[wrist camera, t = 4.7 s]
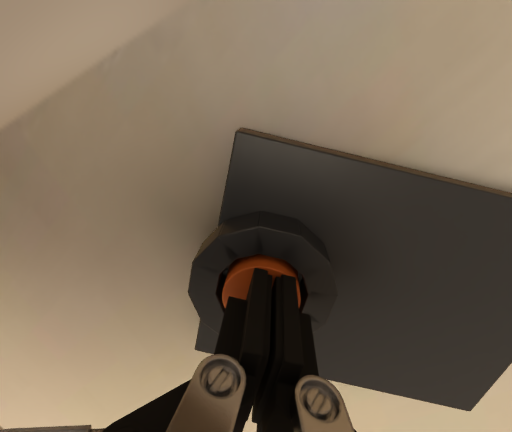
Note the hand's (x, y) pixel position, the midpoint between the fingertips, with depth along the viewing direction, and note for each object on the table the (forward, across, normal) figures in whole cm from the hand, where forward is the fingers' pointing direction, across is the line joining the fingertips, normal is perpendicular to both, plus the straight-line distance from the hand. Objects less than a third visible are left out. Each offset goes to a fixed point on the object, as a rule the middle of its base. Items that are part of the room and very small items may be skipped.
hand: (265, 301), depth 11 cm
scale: (+3, -5, 0) cm, 6 cm away
